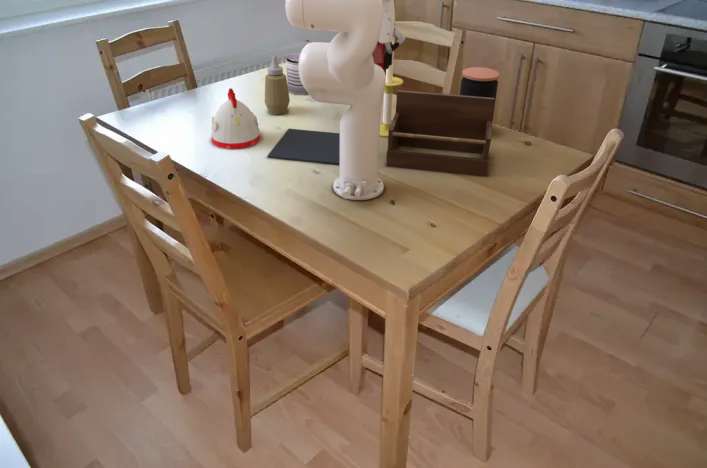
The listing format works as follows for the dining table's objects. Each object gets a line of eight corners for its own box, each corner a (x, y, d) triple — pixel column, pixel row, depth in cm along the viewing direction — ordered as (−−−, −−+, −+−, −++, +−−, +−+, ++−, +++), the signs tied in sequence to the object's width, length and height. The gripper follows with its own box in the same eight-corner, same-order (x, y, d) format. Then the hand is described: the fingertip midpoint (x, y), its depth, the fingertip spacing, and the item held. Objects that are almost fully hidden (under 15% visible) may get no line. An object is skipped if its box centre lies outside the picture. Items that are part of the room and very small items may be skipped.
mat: (352, 166, 157) (352, 164, 157) (267, 157, 161) (267, 155, 161) (366, 137, 174) (366, 135, 173) (288, 130, 178) (288, 128, 177)
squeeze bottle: (295, 110, 192) (292, 55, 182) (279, 118, 186) (276, 61, 176) (276, 105, 195) (272, 51, 186) (260, 113, 189) (255, 57, 180)
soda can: (383, 82, 150) (385, 34, 144) (357, 80, 151) (358, 32, 145) (388, 75, 156) (390, 28, 149) (363, 73, 157) (364, 26, 150)
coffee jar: (497, 130, 180) (506, 72, 170) (478, 140, 173) (486, 80, 163) (468, 121, 186) (475, 64, 176) (448, 130, 179) (455, 72, 169)
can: (290, 83, 214) (288, 50, 208) (321, 85, 214) (320, 52, 207) (284, 94, 205) (282, 60, 198) (316, 95, 204) (315, 61, 198)
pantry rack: (485, 176, 153) (494, 118, 145) (386, 166, 158) (388, 109, 149) (486, 152, 166) (494, 97, 157) (394, 143, 170) (397, 90, 162)
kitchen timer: (217, 151, 164) (210, 100, 156) (208, 133, 175) (201, 84, 167) (265, 144, 168) (261, 94, 160) (253, 127, 179) (249, 79, 171)
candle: (408, 134, 176) (415, 22, 159) (377, 138, 173) (381, 25, 156) (395, 122, 184) (400, 14, 167) (365, 126, 181) (368, 17, 164)
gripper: (337, -6, 141) (337, 67, 150) (408, -2, 137) (403, 73, 147) (345, -12, 147) (344, 59, 157) (413, -8, 144) (408, 65, 153)
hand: (373, 65), depth 152 cm, fingers closed on soda can, 6 cm apart
